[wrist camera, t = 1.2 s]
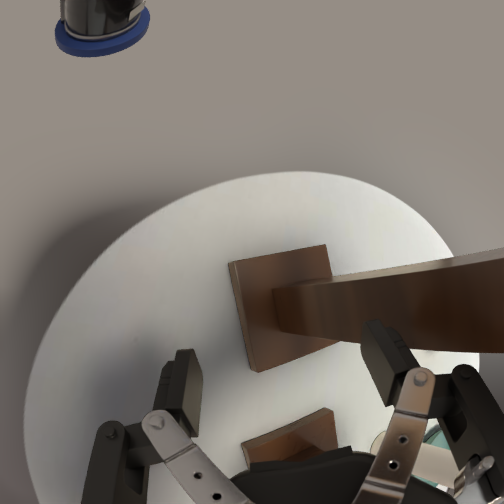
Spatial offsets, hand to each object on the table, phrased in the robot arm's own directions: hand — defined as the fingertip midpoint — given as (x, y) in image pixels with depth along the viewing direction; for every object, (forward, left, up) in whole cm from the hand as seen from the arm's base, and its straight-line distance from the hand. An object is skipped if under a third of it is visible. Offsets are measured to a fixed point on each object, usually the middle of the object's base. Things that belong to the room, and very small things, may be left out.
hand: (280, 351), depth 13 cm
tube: (+29, -6, -13) cm, 32 cm away
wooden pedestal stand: (+6, +5, -13) cm, 15 cm away
